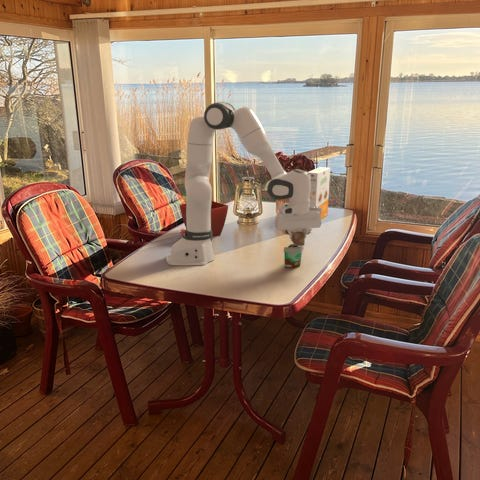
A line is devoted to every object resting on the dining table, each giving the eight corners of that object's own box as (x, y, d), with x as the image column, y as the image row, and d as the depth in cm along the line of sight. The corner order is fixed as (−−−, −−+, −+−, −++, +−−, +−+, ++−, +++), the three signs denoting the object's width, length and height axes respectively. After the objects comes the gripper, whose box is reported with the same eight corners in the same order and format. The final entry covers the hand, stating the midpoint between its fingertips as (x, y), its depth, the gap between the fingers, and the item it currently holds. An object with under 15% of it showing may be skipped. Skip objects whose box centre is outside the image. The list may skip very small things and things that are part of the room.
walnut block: (295, 245, 205) (295, 234, 203) (291, 240, 212) (291, 229, 211) (304, 245, 205) (304, 234, 204) (299, 239, 213) (300, 229, 211)
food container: (295, 271, 206) (296, 249, 203) (283, 268, 209) (283, 247, 206) (307, 263, 216) (308, 242, 213) (295, 260, 219) (296, 240, 216)
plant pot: (200, 243, 243) (200, 211, 238) (179, 234, 257) (178, 204, 252) (229, 236, 255) (229, 205, 250) (207, 228, 269) (207, 199, 264)
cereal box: (317, 214, 300) (320, 167, 291) (327, 215, 297) (330, 167, 288) (304, 222, 281) (307, 172, 272) (314, 224, 278) (317, 173, 269)
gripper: (319, 204, 209) (317, 234, 213) (274, 206, 205) (273, 237, 209) (324, 208, 203) (322, 238, 208) (279, 210, 199) (278, 241, 203)
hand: (297, 238), depth 208 cm, fingers closed on walnut block, 4 cm apart
